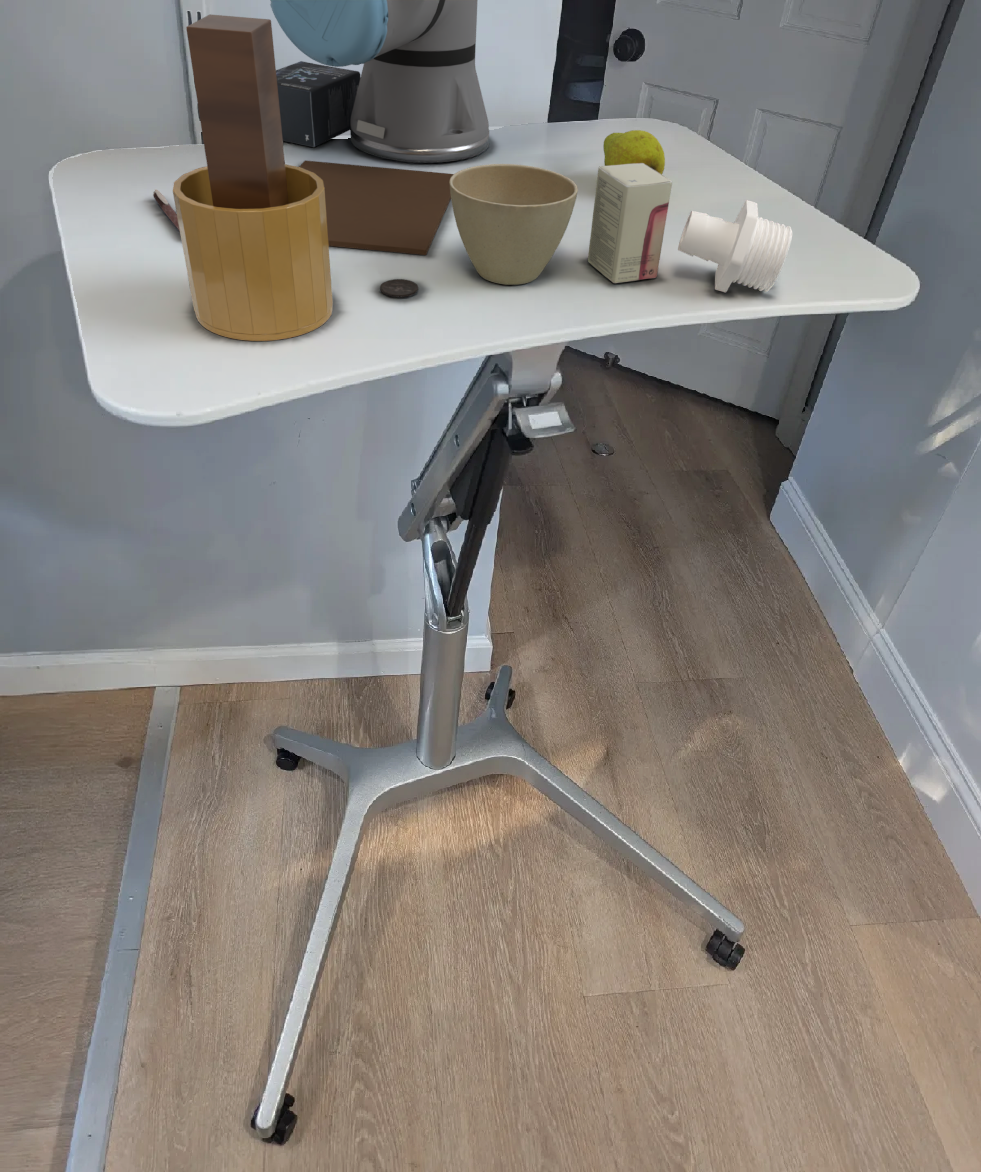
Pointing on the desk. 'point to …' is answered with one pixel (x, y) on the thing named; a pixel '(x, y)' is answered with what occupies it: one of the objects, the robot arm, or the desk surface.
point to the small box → (628, 221)
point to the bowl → (511, 218)
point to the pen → (166, 207)
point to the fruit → (634, 150)
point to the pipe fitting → (738, 247)
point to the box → (315, 102)
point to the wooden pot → (257, 259)
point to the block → (239, 110)
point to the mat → (382, 206)
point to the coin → (399, 288)
